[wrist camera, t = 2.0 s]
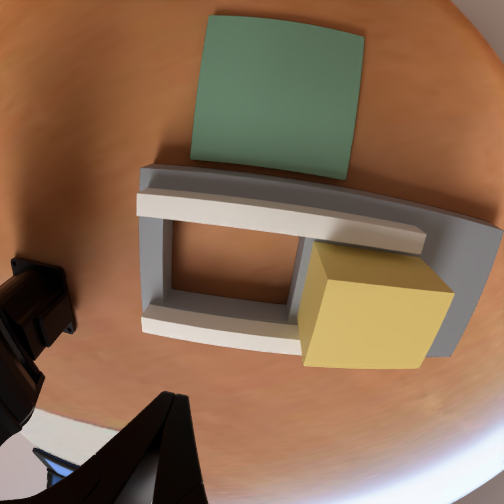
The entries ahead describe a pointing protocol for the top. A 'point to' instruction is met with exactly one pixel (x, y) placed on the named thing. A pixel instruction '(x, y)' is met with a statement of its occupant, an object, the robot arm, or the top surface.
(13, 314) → the robot arm
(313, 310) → the brick
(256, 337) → the channel deck
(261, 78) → the felt mat
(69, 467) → the handheld game console
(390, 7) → the top surface
